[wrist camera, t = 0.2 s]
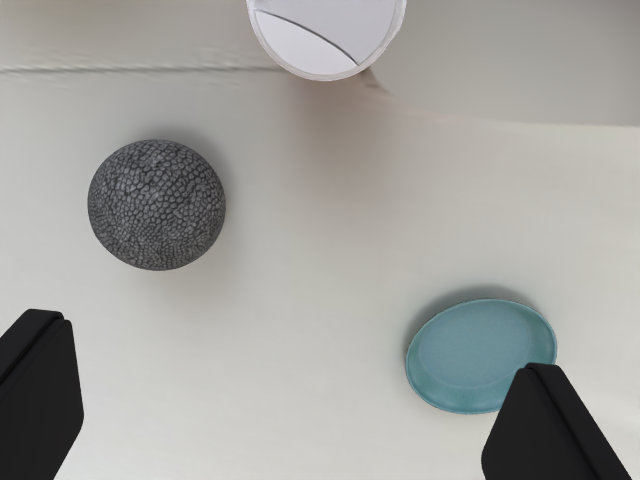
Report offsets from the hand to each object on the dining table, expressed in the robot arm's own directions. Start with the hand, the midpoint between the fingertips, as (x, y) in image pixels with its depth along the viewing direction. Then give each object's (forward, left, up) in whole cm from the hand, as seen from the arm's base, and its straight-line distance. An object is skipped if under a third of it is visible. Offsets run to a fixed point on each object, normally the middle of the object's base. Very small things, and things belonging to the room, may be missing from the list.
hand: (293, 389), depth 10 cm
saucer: (+5, +29, -31) cm, 43 cm away
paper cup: (-5, -5, -31) cm, 32 cm away
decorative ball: (+14, -3, -31) cm, 34 cm away
